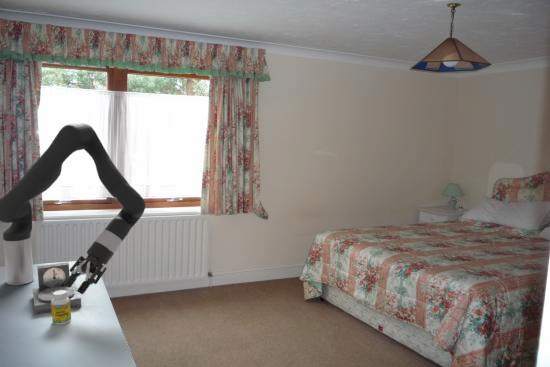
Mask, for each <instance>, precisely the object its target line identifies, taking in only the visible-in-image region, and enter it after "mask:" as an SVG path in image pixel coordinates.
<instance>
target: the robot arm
mask: <svg viewBox="0 0 550 367" xmlns="http://www.w3.org/2000/svg"><path fill="white" fill-rule="evenodd" d="M82 150H84V151H85V152H86V153H87V154H88V155H89V156H90V157H91V159H92V160H93V163H94V165H95V169H96V172H97V177H98V178H99V181H100V182H101V184H102V185H103V187H104V188H105V189H106V190H107V192H108V193H109V194H110V195H111V196H112V197H113V198H115V199H116V200H117V201H118V202H119V203H120V205H121V206H122V208H121V209H120V211H119V213H118V214H117V215H116V217H114V218H113V219H112V220H111V221H110V222H109V223H108V224H107V225H106V227H105V228H104V229H103V231H102V232H101V233H99V234H98V236H97V238H96V239H95V240H94V242H93V243H92V244H91V245H90V246H89V248H88V249H87V251H86V254H87V256H86V257H84V256H83V255H81V256H79V257H78V259H77V260H76V261H75V262H74V264H73V265H72V266H71V268H69V273H70V277H69V278H68V279H67V281H66V282H65V285H66V286H67V287H69V288H70V287H71V286H72V285H73V283H74V282H75V283H76V281H77V279H78V278H79V277H80V276H85V279H84V280H83V282H82V283H81V284H80V285H79V287H77V289H78V290H77V292H79V294H81V295H84V294H85V292H86V291H87V290H88V288H89V287H90V286H91V285H93V284H94V285H96V284H98V283H99V281H100V279H101V278H102V276H103V275H105V274H104V273H105V272H106V271H107V267H106V266H105V265H107V264H108V263H109V262H110V260H111V259H112V258H113V256H114V255H115V253H116V252H117V250H118V249H119V247H120V246H121V244H122V243H123V241H124V240H125V238H127V236H128V234H129V232H130V231H131V229H133V227H134V226H135V225H136V224H137V223H138V221H139V220H140V219H141V218H142V216H143V214H144V212H145V210H146V201H145V200H144V198H143V197H142V196H141V194H140V193H139V192H138V191H137V190H136V189H135V188H133V186H131V185H130V183H129V182H128V181H127V179H126V178H125V177H124V175H123V174H122V172H120V170H119V169H118V168H117V166H116V165H115V164H114V162H113V160H112V159H111V157H110V156H109V154H108V152H107V151H106V149H105V146H104V145H103V143H102V142H101V139H100V138H99V135H98V134H97V132H96V131H95V129H94V128H93V127H92V126H91V125H90V124H89V123H85V122H77V123H70V124H66V125H64V126H63V127H62V128H60V130H58V133H57V134H56V136H55V137H54V139H53V140H52V142H51V143H50V145H49V146H48V148H47V149H46V150H45V151H44V152H43V153H42V155H41V156H40V157H39V158H38V159H37V160H36V161H35V162H34V163H33V165H31V167H30V168H29V169H28V171H27V172H26V173H25V174H24V175H23V177H21V179H20V180H19V181H18V182H17V183H16V184H15V186H14V187H13V188H11V189H10V190H9V191H8V192H7V193H6V194H5V195H4V196H3V197H2V198H1V199H0V222H2V223H4V224H5V223H7V224H9V223H11V224H10V226H9V227H8V228H7V229H6V230H5V231H3V233H2V240H3V250H4V253H3V254H4V265H5V266H4V267H5V277H6V284H7V286H22V285H26V284H29V283H32V282H33V281H34V280H35V277H34V263H33V250H32V236H31V234H32V231H33V208H32V204H31V200H32V199H35V198H36V197H38V196H39V195H41V194H42V193H44V192H46V191H47V190H48V189H50V187H52V186H53V184H54V183H55V182H56V181H57V180H58V179H59V177H60V176H61V174H62V169H63V164H64V162H65V161H66V160H67V159H68V158H69V157H70V156H71V155H72V154H73V153H75V152H77V151H82Z"/></svg>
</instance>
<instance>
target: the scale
mask: <svg viewBox="0 0 550 367" xmlns="http://www.w3.org/2000/svg"><path fill="white" fill-rule="evenodd" d="M70 275H71V273H70V264H69V262H68V261H67V262H66V261H65V262H59V263H51V264H45V265H37V280H38V288H37V287H35V288H32V297H33V308H34V315H42V314H46V313H52V309H51V301H52V300H53V299H54V298H53V293H54V292H55V291H59V290H65V291H67V296H66V297H68V298H69V299H70V310H71V309H76V308H82V297H81V295H80V293H79V292H77V290H78V287H77V284H76V281H75V282H74V283H73V285H72V286H71V287H70V288H69V287H67V286H66V285H65V282H66V281H67V279H68V278H69V277H70Z"/></svg>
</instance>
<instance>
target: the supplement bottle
mask: <svg viewBox="0 0 550 367" xmlns="http://www.w3.org/2000/svg"><path fill="white" fill-rule="evenodd" d="M66 296H67V291H65V290H59V291H55V292H54V293H53V298H54V299H53V300H52V301H51V309H52V312H51V318H52V319H51V320H52V324H53V325H56V326H61V325H66V324H68V323H69V322H71V321H72V310H71V309H70V299H69V298H68V297H66Z"/></svg>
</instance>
